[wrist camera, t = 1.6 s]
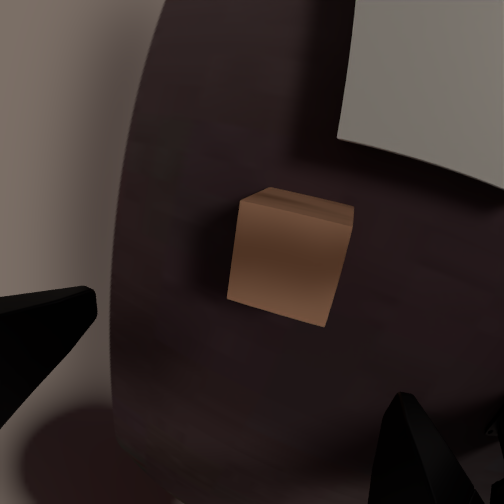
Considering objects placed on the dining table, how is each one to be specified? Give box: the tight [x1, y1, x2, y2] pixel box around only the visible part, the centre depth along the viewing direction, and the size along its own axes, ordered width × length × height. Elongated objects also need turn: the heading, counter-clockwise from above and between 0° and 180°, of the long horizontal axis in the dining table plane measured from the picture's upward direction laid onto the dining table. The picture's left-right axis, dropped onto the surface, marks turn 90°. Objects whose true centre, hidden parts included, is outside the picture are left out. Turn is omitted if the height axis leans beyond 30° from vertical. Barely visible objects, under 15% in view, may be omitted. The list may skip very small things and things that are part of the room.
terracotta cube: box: [227, 187, 354, 327], centre depth 17 cm, size 5×5×5 cm
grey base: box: [337, 0, 504, 190], centre depth 11 cm, size 12×12×3 cm
